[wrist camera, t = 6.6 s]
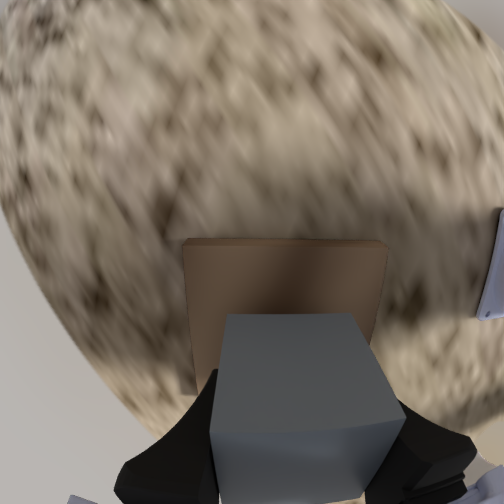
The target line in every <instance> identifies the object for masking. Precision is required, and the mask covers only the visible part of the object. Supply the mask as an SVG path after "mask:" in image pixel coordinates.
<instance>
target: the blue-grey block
mask: <svg viewBox="0 0 504 504" xmlns="http://www.w3.org/2000/svg"><path fill="white" fill-rule="evenodd" d="M405 420H406V416H405V414H404V412H403V409H402V407H401V405H400V404H399V402H398V400H397V398H396V396H395V394H394V392H393V390H392V388H391V386H390V384H389V382H388V380H387V378H386V376H385V374H384V372H383V371H382V369H381V367H380V365H379V363H378V361H377V359H376V357H375V356H374V354H373V352H372V350H371V348H370V346H369V345H368V343H367V341H366V339H365V337H364V336H363V334H362V332H361V330H360V328H359V327H358V325H357V323H356V321H355V319H354V318H353V316H352V314H351V313H328V314H227V317H226V323H225V330H224V336H223V343H222V349H221V356H220V363H219V369H218V376H217V383H216V390H215V396H214V403H213V410H212V417H211V424H210V431H209V432H210V439H211V445H212V452H213V458H214V464H215V470H216V476H217V481H218V487H219V492H220V497H221V502H222V504H324V503H332V502H339V501H345V500H351V499H356V498H360V496H361V495H362V494H363V492H364V491H365V489H366V488H367V486H368V485H369V483H370V482H371V480H372V478H373V477H374V475H375V474H376V472H377V470H378V469H379V467H380V466H381V464H382V462H383V461H384V459H385V457H386V455H387V454H388V452H389V450H390V448H391V447H392V445H393V443H394V441H395V439H396V437H397V436H398V434H399V432H400V430H401V428H402V426H403V424H404V422H405Z"/></svg>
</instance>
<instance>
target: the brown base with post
mask: <svg viewBox="0 0 504 504" xmlns="http://www.w3.org/2000/svg"><path fill="white" fill-rule="evenodd" d="M182 249H183V263H184V276H185V288H186V299H187V309H188V319H189V328H190V337H191V345H192V353H193V361H194V369H195V376H196V383H197V390H198V396H199V394H200V392H201V391H202V389H203V388H204V386H205V384H206V382H207V380H208V379H209V376H210V374H211V372H212V370H213V369H219V363H220V356H221V349H222V343H223V336H224V330H225V323H226V317H227V314H328V313H351V314H352V316H353V318H354V319H355V321H356V323H357V325H358V327H359V328H360V330H361V332H362V334H363V336H364V337H365V339H366V341H367V343H368V345H370V341H371V337H372V333H373V329H374V324H375V320H376V316H377V311H378V306H379V301H380V296H381V291H382V286H383V281H384V275H385V269H386V263H387V257H388V250H389V248H388V247H387V246H386V245H385V244H383V243H382V242H381V241H367V240H313V239H216V238H187V240H186V241H185V243H184V244H183V245H182Z"/></svg>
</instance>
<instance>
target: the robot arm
mask: <svg viewBox="0 0 504 504" xmlns="http://www.w3.org/2000/svg"><path fill="white" fill-rule="evenodd" d="M500 317H504V209H503V210H502V212H501V214H500V220H499V226H498V232H497V237H496V242H495V247H494V252H493V256H492V261H491V265H490V269H489V273H488V277H487V280H486V284H485V288H484V291H483V295H482V298H481V301H480V304H479V308H478V311H477V314H476V318H477V319H478V320H479V321H483V320H489V319H495V318H500ZM217 376H218V369H213V370H212V372H211V374H210V376H209V379H208V380H207V382H206V384H205V386H204V388H203V389H202V391H201V392H200V394H199V396H198V397H197V399H196V400H195V402H194V403H193V404H192V406H191V407H190V408H189V410H188V411H187V412H186V413H185V415H184V416H183V417H182V418H181V419H180V420H179V422H178V423H177V424H176V425H175V426H174V427H173V428H172V429H171V430H170V431H169V432H168V433H167V434H165V435H164V436H163V437H162V438H161V439H160V440H159V441H157V442H156V443H155V444H153V445H152V446H151V447H149V448H148V449H147V450H145V451H144V452H142V453H141V454H139V455H137V456H136V457H134V458H132V459H130V460H129V461H127V462H125V464H124V465H123V467H122V469H121V471H120V473H119V475H118V477H117V480H116V483H115V487H114V492H115V494H116V495H117V497H118V498H119V499H120V500H121V501H122V503H123V504H219V487H218V481H217V476H216V470H215V464H214V458H213V452H212V445H211V439H210V432H209V431H210V424H211V417H212V410H213V403H214V396H215V390H216V383H217ZM397 400H398V399H397ZM398 402H399V404H400V405H401V407H402V409H403V412H404V414H405V416H406V420H405V422H404V424H403V426H402V428H401V430H400V432H399V434H398V436H397V437H396V439H395V441H394V443H393V445H392V447H391V448H390V450H389V452H388V454H387V455H386V457H385V459H384V461H383V462H382V464H381V466H380V467H379V469H378V470H377V472H376V474H375V475H374V477H373V478H372V480H371V482H370V483H369V485H368V486H367V488H366V489H365V502H366V504H504V467H503V465H499V466H498V467H496V468H494V469H492V470H490V471H488V472H487V473H485V474H484V475H482V476H481V477H480V478H479V479H478V480H477V481H476V483H474V484H472V485H470V486H468V487H466V486H465V484H464V481H463V479H464V478H465V474H464V472H463V471H464V470H465V469H466V468H467V467H468V466H469V464H470V463H471V462H472V461H473V460H474V458H475V457H476V454H477V449H476V447H475V445H474V443H473V442H472V440H471V438H470V437H468V436H465V435H462V434H459V433H455V432H453V431H450V430H448V429H445V428H443V427H441V426H438V425H436V424H434V423H432V422H431V421H429V420H427V419H425V418H423V417H422V416H420V415H419V414H417V413H416V412H414V411H413V410H411V409H410V408H408V407H407V406H406V405H404V404H403V403H402V402H401V401H400V400H398ZM67 504H97V503H95V502H92V501H89V500H86V499H83V498H81V497H78V496H75V495H70V498H69V501H68V503H67Z"/></svg>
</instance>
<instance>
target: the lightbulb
mask: <svg viewBox="0 0 504 504" xmlns="http://www.w3.org/2000/svg"><path fill="white" fill-rule="evenodd" d="M496 467H498V466H497V465H494V464H492V463H490V462H488V461H487V460H485V459H484V458H483V457H482V456H481V454H480V452H479V451H477V454H476V457H475V458H474V460H473V461H472V462H471V463H470V464H469V466H468V467H467V468H466V469H465V470H464V471H463V472H464V474H465V478H464V479H463V481H464V484H465V486H466V487H468V486H470V485H472V484H474V483H476V481H477V480H478V479H479V478H480V477H481V476H482V475H484V474H485V473H487V472H488V471H490V470H492V469H494V468H496Z"/></svg>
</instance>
